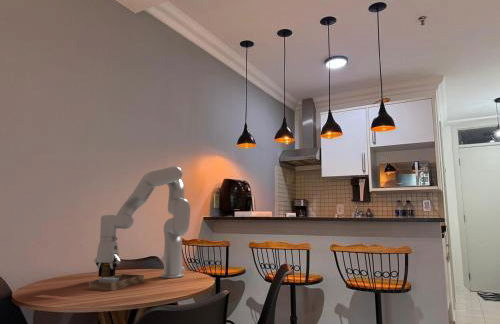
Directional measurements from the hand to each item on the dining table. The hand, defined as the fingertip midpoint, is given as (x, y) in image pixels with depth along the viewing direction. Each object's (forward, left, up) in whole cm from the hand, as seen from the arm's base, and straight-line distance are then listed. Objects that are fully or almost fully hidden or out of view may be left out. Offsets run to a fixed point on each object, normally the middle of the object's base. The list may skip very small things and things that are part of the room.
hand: (106, 276), depth 178 cm
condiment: (0, 0, -3) cm, 3 cm away
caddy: (+6, +12, -3) cm, 14 cm away
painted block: (+12, +12, -2) cm, 17 cm away
